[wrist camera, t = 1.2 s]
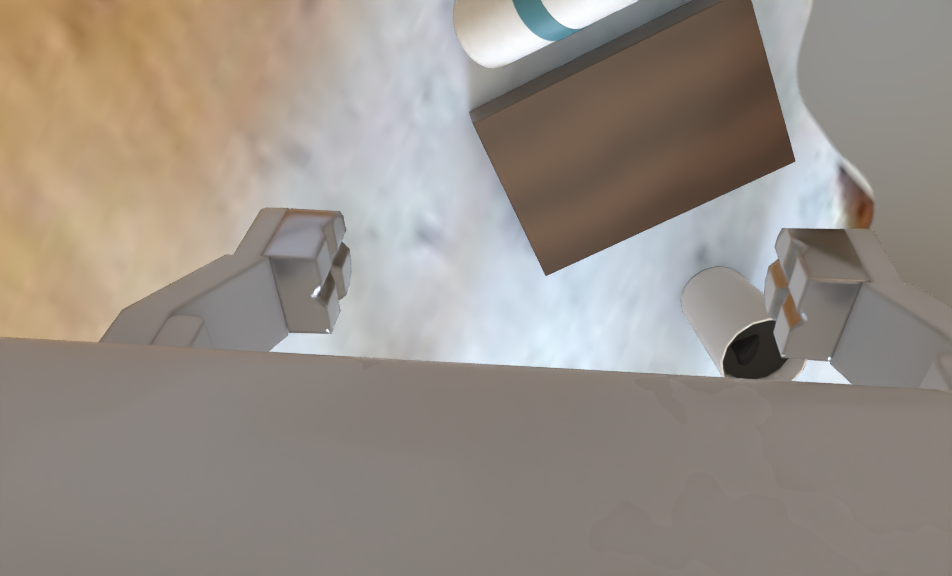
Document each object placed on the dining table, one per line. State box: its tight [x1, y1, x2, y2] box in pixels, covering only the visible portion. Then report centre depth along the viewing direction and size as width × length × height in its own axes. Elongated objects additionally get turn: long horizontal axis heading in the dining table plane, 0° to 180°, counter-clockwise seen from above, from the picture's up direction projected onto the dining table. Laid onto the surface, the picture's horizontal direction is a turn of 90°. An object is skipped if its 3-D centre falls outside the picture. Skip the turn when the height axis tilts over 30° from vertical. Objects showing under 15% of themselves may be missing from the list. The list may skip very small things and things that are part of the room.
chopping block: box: [469, 0, 795, 276], centre depth 53 cm, size 13×20×4 cm, turn 115°
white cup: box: [681, 267, 807, 381], centre depth 57 cm, size 7×7×10 cm
